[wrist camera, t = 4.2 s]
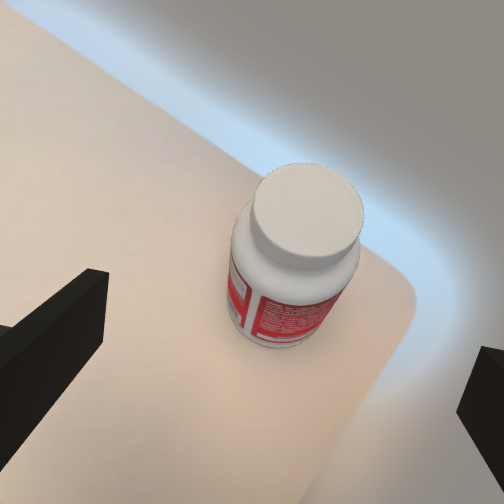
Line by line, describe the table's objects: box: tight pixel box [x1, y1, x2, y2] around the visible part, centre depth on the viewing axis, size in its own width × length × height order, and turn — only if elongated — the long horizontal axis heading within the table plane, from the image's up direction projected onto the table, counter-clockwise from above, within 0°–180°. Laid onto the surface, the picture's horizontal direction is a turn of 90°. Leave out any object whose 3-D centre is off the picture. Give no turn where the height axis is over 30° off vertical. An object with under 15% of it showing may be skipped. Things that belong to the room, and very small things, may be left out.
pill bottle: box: [227, 163, 364, 348], centre depth 23 cm, size 6×6×11 cm
